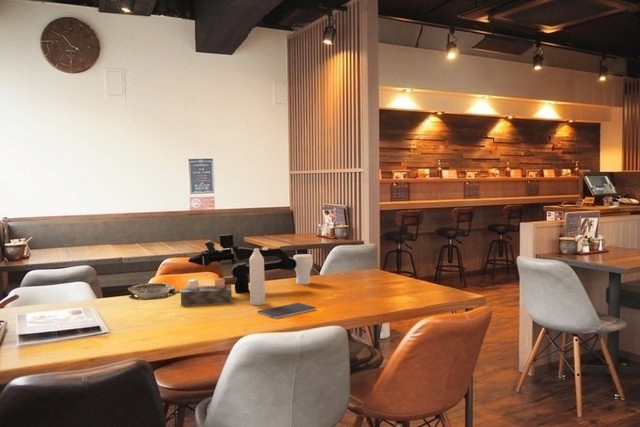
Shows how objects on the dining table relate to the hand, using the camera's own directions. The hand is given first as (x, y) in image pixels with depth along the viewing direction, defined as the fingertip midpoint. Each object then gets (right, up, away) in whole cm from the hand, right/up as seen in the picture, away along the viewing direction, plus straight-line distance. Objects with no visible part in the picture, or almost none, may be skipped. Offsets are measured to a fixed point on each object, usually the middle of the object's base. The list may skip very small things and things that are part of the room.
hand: (189, 259), depth 260 cm
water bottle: (+37, -18, -21) cm, 46 cm away
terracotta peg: (+18, -13, -14) cm, 26 cm away
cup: (+55, -15, +24) cm, 62 cm away
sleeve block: (+12, -18, -14) cm, 26 cm away
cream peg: (+6, -14, -16) cm, 22 cm away
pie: (-20, -18, +4) cm, 27 cm away
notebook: (+50, -19, -36) cm, 65 cm away
